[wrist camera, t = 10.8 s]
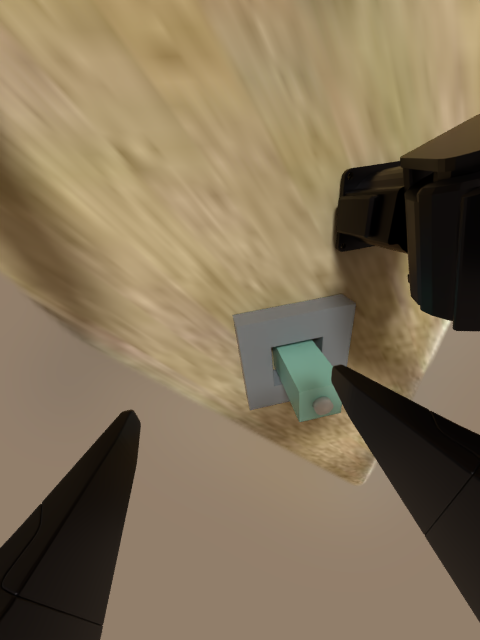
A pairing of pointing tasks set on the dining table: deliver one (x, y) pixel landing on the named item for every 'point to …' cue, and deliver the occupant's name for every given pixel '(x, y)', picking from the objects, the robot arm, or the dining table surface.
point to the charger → (307, 380)
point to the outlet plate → (290, 341)
